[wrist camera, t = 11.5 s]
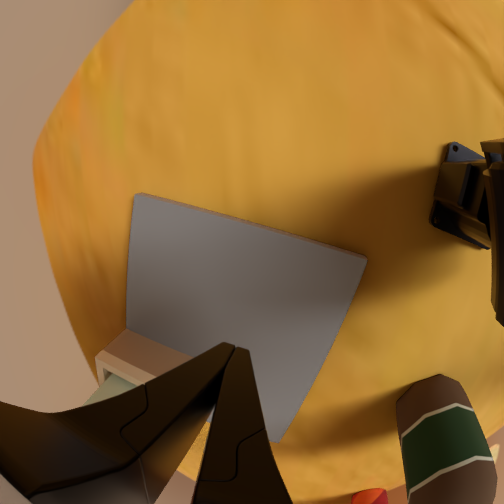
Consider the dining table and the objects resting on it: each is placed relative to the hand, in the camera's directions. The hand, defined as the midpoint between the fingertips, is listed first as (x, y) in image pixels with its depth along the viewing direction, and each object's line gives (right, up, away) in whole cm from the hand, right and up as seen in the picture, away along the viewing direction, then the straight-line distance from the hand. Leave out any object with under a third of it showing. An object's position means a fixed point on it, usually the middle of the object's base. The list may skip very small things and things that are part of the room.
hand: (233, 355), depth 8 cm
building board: (-2, -5, +16) cm, 17 cm away
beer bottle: (+18, -12, +14) cm, 26 cm away
